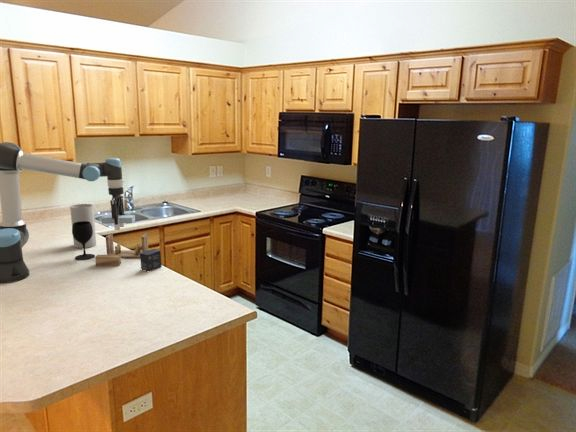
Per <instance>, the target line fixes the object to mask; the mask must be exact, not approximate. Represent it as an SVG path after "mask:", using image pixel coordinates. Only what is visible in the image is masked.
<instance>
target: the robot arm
mask: <svg viewBox="0 0 576 432" xmlns="http://www.w3.org/2000/svg"><path fill="white" fill-rule="evenodd" d="M104 161H105V162H83V163H81V162H77V161H69V160H64V159H59V158H55V157H48V156H43V155H37V154H32V153H26V152H23V150H22V149H21V147H20V146H18V145H17V144H15V143H13V142H10V141H3V142H0V209H1V219H2V220H1V222H0V283H1V284H2V283H3V284H4V283H5V284H6V283H14V282H18V281H21V280H24V279H26V278H28V277H29V276H30V270H29V268H28V266H27V265H26V262H25V261H24V256H23V254H24V253H23V247H24V246H25V245H26V244H27V243H28V241H29V238H30V237H29V236H30V235H29V230H28V228H27V222H26V221H25V220H23V212H22V210H23V209H22V199H21V186H20V173H21V172H22V171H23V170H29V171H32V172H41V173H47V174H51V175H52V174H53V175H58V176H63V177H71V178H75V179H81V180H85V181H88V182H96V181H97V180H98V179H100V178H101V177H102V178H103V177H104V178H105V177H107V181H106V182H107V187H108V188H107V189H108V195H110V196H112V197H111V200H109V201H110V209H111V216H112V219H114V223H113V227H114V231H121V228H124V227H125V223H120V222H119V218H118V216H119V215H125V214H126V213H125V206H124V196H123V194H124V187H123V185H124V180H123V170H122V162H121V159H120V158H118V157H109V158H106V159H105V160H104Z"/></svg>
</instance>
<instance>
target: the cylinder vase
mask: <svg viewBox="0 0 576 432" xmlns="http://www.w3.org/2000/svg"><path fill="white" fill-rule="evenodd" d="M69 207H70V208H69V209H70V218H71V227H72V226H73V223H75V222H81V221H88V222H90V223H91V225H92V229H93V234H92V237H91V239H90V240H89V241H88V242H87V243H86V244H85V249H89V248H92V247H95V246H96V245H97V236H96V235H97V234H96V225H95V213H94V212H95V211H94V205H93V203H79V204H78V203H77V204H72V205H70V206H69ZM72 239H73V247H75V248H77V249H83V245H82V244H81V243H80V242H78V241H76V240H75V239H74V237H73V236H72Z"/></svg>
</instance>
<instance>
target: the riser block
mask: <svg viewBox="0 0 576 432" xmlns="http://www.w3.org/2000/svg"><path fill="white" fill-rule="evenodd" d="M94 258H95V260H94V261H95V266H96V267H115V266H117V265H119V266H120V265H121V264H122V259H121V254H118V255H107V254H97V255H95V257H94ZM117 267H118V266H117Z"/></svg>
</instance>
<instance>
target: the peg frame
mask: <svg viewBox="0 0 576 432" xmlns="http://www.w3.org/2000/svg"><path fill="white" fill-rule="evenodd" d="M113 235H114V234H113V233H109V234H108V235H106V236H105V245H106V246H105V247H106V255H118V254H121V258H125V259H140V253H142V252H145V251H148V250H149V237H148V233H147V232H145V233H143V235H142V236H141V243H136V245H134V249H133V250H132V249H131V250H129V249H126V250H125V249H124V250H123V249H121V248H122V247H121V243H117V244H116V245H114V236H113Z"/></svg>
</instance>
